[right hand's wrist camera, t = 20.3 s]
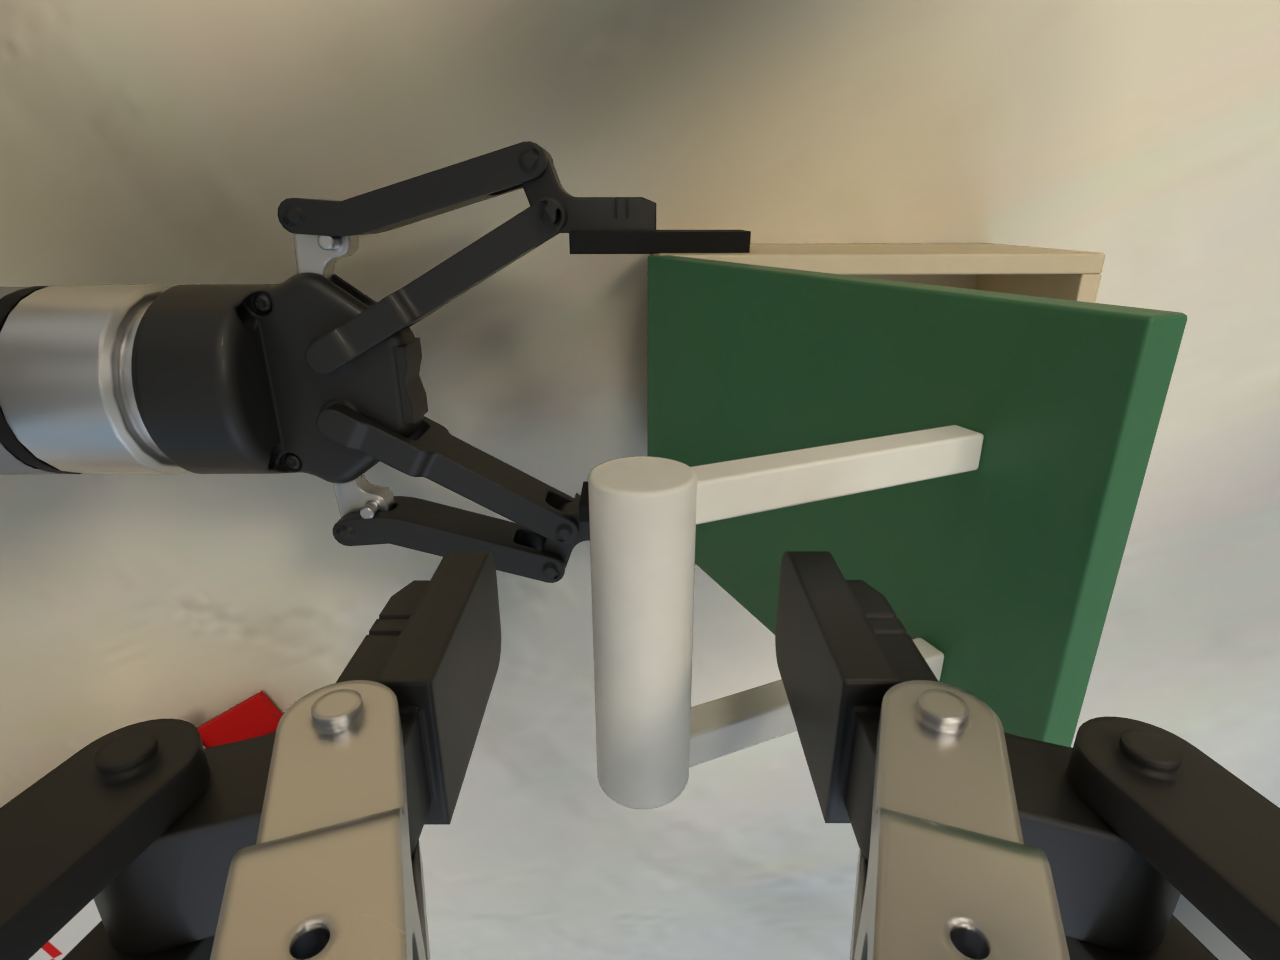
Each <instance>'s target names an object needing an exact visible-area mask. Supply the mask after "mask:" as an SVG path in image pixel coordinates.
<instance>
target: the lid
mask: <svg viewBox="0 0 1280 960" xmlns="http://www.w3.org/2000/svg"><path fill="white" fill-rule="evenodd" d="M1186 321H1187V315H1185V314H1183V313H1179V312H1170V311H1161V310H1152V309H1143V308H1134V307H1125V306H1117V305H1108V304H1099V303H1090V302H1081V301H1072V300H1063V299H1054V298H1045V297H1036V296H1028V295H1019V294H1010V293H1001V292H992V291H983V290H974V289H965V288H956V287H948V286H939V285H930V284H921V283H912V282H903V281H894V280H885V279H876V278H867V277H859V276H850V275H841V274H832V273H823V272H814V271H805V270H796V269H787V268H778V267H770V266H761V265H752V264H743V263H734V262H725V261H716V260H707V259H698V258H690V257H681V256H672V255H657V256H649V257H648V457H647V456H640V457H626V458H620V459H615V460H611V461H607V462H604V463H602V464H600V465H598V466H596V467H595V468H593V469H592V471H591V472H590V474H589V477H588V488H589V520H590V551H591V583H592V615H593V647H594V678H595V710H596V742H597V773H598V781H599V783H600V786H601V787H602V789H603V791H604V792H605V793H606V794H607V796H608V797H610V798H611V799H612V800H613V801H615V802H617V803H619V804H621V805H623V806H626V807H630V808H635V809H652V808H657V807H660V806H663V805H666V804H668V803H670V802H671V801H673V800H674V799H676V798H677V797H678V796H679V795H680V794H681V792H682V791H683V790H684V788H685V786H686V784H687V781H688V777H689V767H692V766H695V765H698V764H701V763H704V762H706V761H709V760H712V759H715V758H718V757H721V756H724V755H727V754H730V753H733V752H736V751H738V750H741V749H744V748H747V747H750V746H753V745H756V744H759V743H762V742H765V741H768V740H771V739H773V738H776V737H779V736H782V735H785V734H788V733H791V732H794V731H797V727H796V724H795V721H794V717H793V714H792V711H791V708H790V704H789V701H788V698H787V694H786V691H785V688H784V684H783V681H782V680H778V681H775V682H772V683H769V684H765V685H762V686H759V687H756V688H752V689H749V690H746V691H743V692H739V693H736V694H733V695H730V696H726V697H723V698H720V699H717V700H713V701H710V702H707V703H704V704H700V705H697V706H694V707H691V679H692V643H693V607H694V572H695V564H697V565H698V566H699V567H700V568H701V569H702V570H703V571H704V572H705V573H707V574H708V575H709V576H710V577H711V578H712V579H713V580H714V581H716V582H717V583H718V584H719V585H720V586H721V587H722V588H723V589H724V590H726V591H727V592H728V593H729V594H730V595H731V596H732V597H733V598H734V599H736V600H737V601H738V602H739V603H740V604H741V605H742V606H743V607H744V608H746V609H747V610H748V611H749V612H750V613H751V614H752V615H753V616H755V617H756V618H757V619H758V620H759V621H760V622H761V623H762V624H763V625H765V626H766V627H767V628H768V629H769V630H770V631H771V632H772V633H773V634H775V635H776V620H777V608H778V596H779V583H780V571H781V562H782V557H783V554H784V552H785V551H828V552H830V553H831V555H832V556H833V558H834V560H835V562H836V564H837V565H838V567H839V569H840V571H841V573H842V574H843V576H844V578H845V580H863V581H864V582H866V583H867V584H868V585H870V586H871V587H873V588H874V589H875V590H877V591H878V592H880V593H881V594H882V595H884V596H885V597H886V599H887V601H888V602H889V604H890V605H891V607H892V609H893V610H894V612H895V613H896V618H899V620H900V621H901V623H902V624H903V626H904V627H905V629H906V634H909V635H910V637H911V639H912V640H913V642H914V643H915V645H916V646H917V648H918V650H919V651H920V653H921V654H922V656H923V657H924V659H925V661H926V662H927V664H928V665H929V667H930V668H931V670H932V672H933V673H934V675H935V676H936V678H937V680H938V681H939V682H941V683H945V684H949V685H952V686H955V687H958V688H960V689H962V690H965V691H967V692H969V693H971V694H973V695H974V696H976V697H978V698H979V699H981V700H982V701H983V702H985V703H986V704H987V705H988V706H989V707H990V708H991V709H992V710H993V711H994V712H995V713H996V714H997V716H998V717H999V719H1000V721H1001V723H1002V726H1003V730H1004V732H1006V733H1009V734H1013V735H1016V736H1020V737H1025V738H1029V739H1034V740H1039V741H1043V742H1048V743H1053V744H1057V745H1062V746H1066V747H1071V744H1072V740H1073V737H1074V733H1075V729H1076V726H1077V722H1078V718H1079V715H1080V711H1081V707H1082V704H1083V700H1084V696H1085V693H1086V689H1087V685H1088V682H1089V678H1090V674H1091V671H1092V667H1093V663H1094V660H1095V656H1096V652H1097V648H1098V645H1099V641H1100V637H1101V634H1102V630H1103V626H1104V623H1105V619H1106V615H1107V612H1108V608H1109V604H1110V601H1111V597H1112V593H1113V590H1114V586H1115V582H1116V579H1117V575H1118V571H1119V568H1120V564H1121V560H1122V557H1123V553H1124V549H1125V546H1126V542H1127V538H1128V535H1129V531H1130V527H1131V524H1132V520H1133V516H1134V513H1135V509H1136V505H1137V502H1138V498H1139V494H1140V490H1141V487H1142V483H1143V479H1144V476H1145V472H1146V468H1147V465H1148V461H1149V457H1150V454H1151V450H1152V446H1153V443H1154V439H1155V435H1156V432H1157V428H1158V424H1159V421H1160V417H1161V413H1162V410H1163V406H1164V402H1165V399H1166V395H1167V391H1168V388H1169V384H1170V380H1171V377H1172V373H1173V369H1174V366H1175V362H1176V358H1177V355H1178V351H1179V347H1180V343H1181V340H1182V336H1183V332H1184V329H1185V325H1186Z"/></svg>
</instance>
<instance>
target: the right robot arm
mask: <svg viewBox="0 0 1280 960" xmlns="http://www.w3.org/2000/svg"><path fill="white" fill-rule="evenodd" d="M775 642H776V656H777V663H778V668H779V671H780V675H781V678H782V681H783V684H784V688H785V691H786V694H787V698H788V701H789V704H790V708H791V711H792V714H793V717H794V721H795V724H796V727H797V731H798V734H799V737H800V741H801V744H802V747H803V751H804V754H805V757H806V760H807V764H808V767H809V770H810V774H811V777H812V780H813V784H814V787H815V790H816V793H817V797H818V800H819V803H820V807H821V810H822V813H823V817H824V820H825V823H851V824H852V827H853V830H854V833H855V836H856V839H857V842H858V845H859V847H860V851H859V857H858V864H857V876H856V888H855V901H854V913H853V925H852V938H851V950H850V960H1218V959H1217V958H1216V957H1215V956H1214V955H1213V954H1212V953H1211V952H1210V951H1209V950H1208V949H1207V948H1206V947H1205V946H1204V945H1203V944H1202V943H1201V942H1200V941H1199V940H1198V939H1197V938H1196V937H1195V936H1194V935H1193V934H1192V933H1191V932H1190V931H1189V930H1188V929H1187V928H1186V927H1185V926H1184V925H1183V924H1182V923H1181V922H1179V920H1177V919H1176V918H1175V917H1174V916H1173V912H1174V909H1175V907H1176V904H1177V902H1178V899H1179V897H1180V894H1182V895H1183V896H1184V897H1185V898H1186V899H1187V900H1188V901H1190V902H1191V903H1192V904H1193V905H1194V906H1195V907H1196V908H1197V909H1198V910H1199V911H1200V912H1201V913H1202V914H1203V915H1204V916H1205V917H1207V918H1208V919H1209V920H1210V921H1211V922H1212V923H1213V924H1214V925H1215V926H1216V927H1217V928H1218V929H1219V930H1220V931H1221V932H1222V933H1224V934H1225V935H1226V936H1227V937H1228V938H1229V939H1230V940H1231V941H1232V942H1233V943H1234V944H1235V945H1236V946H1237V947H1238V948H1239V949H1241V950H1242V951H1243V952H1244V953H1245V954H1246V955H1247V956H1248V957H1249V958H1250V959H1251V960H1280V808H1279V807H1277V806H1276V805H1274V804H1273V803H1272V802H1270V801H1269V800H1268V799H1266V798H1265V797H1263V796H1262V795H1261V794H1259V793H1258V792H1257V791H1255V790H1254V789H1252V788H1251V787H1250V786H1248V785H1247V784H1246V783H1244V782H1243V781H1241V780H1240V779H1239V778H1237V777H1236V776H1235V775H1233V774H1232V773H1230V772H1229V771H1228V770H1226V769H1225V768H1223V767H1222V766H1221V765H1219V764H1218V763H1217V762H1215V761H1214V760H1212V759H1211V758H1210V757H1208V756H1207V755H1206V754H1204V753H1203V752H1201V751H1200V750H1199V749H1197V748H1196V747H1194V746H1193V745H1191V744H1190V743H1188V742H1187V741H1185V740H1184V739H1182V738H1180V737H1178V736H1176V735H1175V734H1173V733H1170V732H1168V731H1166V730H1164V729H1162V728H1159V727H1156V726H1154V725H1151V724H1148V723H1144V722H1141V721H1138V720H1133V719H1128V718H1121V717H1099V718H1094V719H1091V720H1088V721H1087V722H1085V723H1083V724H1082V725H1081V726H1080V727H1079V730H1078V732H1077V736H1076V739H1075V743H1074V746H1073V748H1071V747H1066V746H1062V745H1057V744H1053V743H1048V742H1043V741H1039V740H1034V739H1029V738H1025V737H1020V736H1016V735H1013V734H1009V733H1006V732H1004V730H1003V726H1002V723H1001V721H1000V719H999V717H998V716H997V714H996V713H995V712H994V711H993V710H992V709H991V708H990V707H989V706H988V705H987V704H986V703H985V702H983V701H982V700H981V699H979V698H978V697H976V696H974V695H973V694H971V693H969V692H967V691H965V690H962V689H960V688H958V687H955V686H952V685H949V684H945V683H941V682H939V681H938V680H937V678H936V676H935V675H934V673H933V672H932V670H931V668H930V667H929V665H928V664H927V662H926V661H925V659H924V657H923V656H922V654H921V653H920V651H919V650H918V648H917V646H916V645H915V643H914V642H913V640H912V639H911V637H910V635H909V634H906V629H905V627H904V626H903V624H902V623H901V621H900V620H899V618H896V613H895V612H894V610H893V609H892V607H891V605H890V604H889V602H888V601H887V599H886V597H885V596H884V595H882V594H881V593H880V592H878V591H877V590H875V589H874V588H873V587H871V586H870V585H868V584H867V583H866V582H864V581H863V580H845V578H844V576H843V574H842V573H841V571H840V569H839V567H838V565H837V564H836V562H835V560H834V558H833V556H832V555H831V553H830V552H828V551H785V552H784V554H783V557H782V562H781V571H780V583H779V596H778V608H777V620H776V635H775ZM500 653H501V626H500V614H499V602H498V590H497V579H496V567H495V560H494V556H493V554H492V552H447V553H446V554H445V555H444V557H443V559H442V561H441V562H440V564H439V566H438V568H437V570H436V571H435V573H434V575H433V577H432V578H431V580H430V581H413V582H411V583H410V584H409V585H407V586H406V587H404V588H403V589H401V590H400V591H399V592H397V593H396V594H394V595H393V596H392V597H391V598H390V600H389V601H388V603H387V604H386V606H385V607H384V609H383V610H382V612H381V614H380V615H379V619H377V620H376V621H375V623H374V624H373V626H372V627H371V629H370V631H369V635H366V637H365V638H364V640H363V641H362V643H361V645H360V646H359V648H358V649H357V651H356V652H355V654H354V655H353V657H352V659H351V660H350V662H349V663H348V665H347V666H346V668H345V669H344V671H343V673H342V674H341V676H340V677H339V679H338V680H337V682H336V683H335V684H331V685H328V686H325V687H322V688H320V689H318V690H315V691H313V692H311V693H309V694H307V695H306V696H304V697H302V698H301V699H299V700H298V701H297V702H295V703H294V704H293V705H292V706H291V707H290V708H289V709H288V710H287V711H286V712H285V713H284V714H283V716H282V717H281V719H280V721H279V723H278V726H277V730H276V731H275V732H272V733H269V734H266V735H263V736H259V737H255V738H250V739H246V740H241V741H237V742H232V743H227V744H223V745H218V746H213V747H209V748H204V747H203V743H202V740H201V736H200V734H199V731H198V729H197V728H196V727H195V726H194V725H192V724H191V723H189V722H186V721H183V720H178V719H157V720H150V721H145V722H140V723H136V724H133V725H130V726H126V727H124V728H121V729H119V730H116V731H114V732H111V733H109V734H107V735H105V736H103V737H101V738H99V739H97V740H96V741H94V742H92V743H90V744H89V745H87V746H86V747H84V748H83V749H81V750H80V751H79V752H77V753H76V754H74V755H73V756H72V757H70V758H69V759H68V760H66V761H65V762H63V763H62V764H61V765H59V766H58V767H56V768H55V769H54V770H52V771H51V772H50V773H48V774H47V775H45V776H44V777H43V778H41V779H40V780H39V781H37V782H36V783H34V784H33V785H32V786H30V787H29V788H28V789H26V790H25V791H23V792H22V793H21V794H19V795H18V796H17V797H15V798H14V799H12V800H11V801H10V802H8V803H7V804H5V805H4V806H3V807H1V808H0V960H29V959H30V958H31V957H32V956H33V955H34V954H35V953H36V952H37V951H38V950H39V949H41V948H42V947H43V946H44V945H45V944H46V943H47V942H48V941H49V940H50V939H51V938H52V937H53V936H54V935H55V934H56V933H58V932H59V931H60V930H61V929H62V928H63V927H64V926H65V925H66V924H67V923H68V922H69V921H70V920H71V919H72V918H73V917H74V916H76V915H77V914H78V913H79V912H80V911H81V910H82V909H83V908H84V907H85V906H86V905H87V904H88V903H89V902H90V901H91V900H93V899H94V902H95V904H96V907H97V909H98V912H99V914H100V917H101V919H102V920H101V921H100V922H99V923H98V924H97V925H96V926H95V927H94V928H93V929H92V930H91V931H90V932H89V933H88V934H87V935H86V936H85V937H84V938H83V939H82V940H81V941H80V942H79V943H78V944H77V945H76V946H75V947H74V948H73V949H72V950H71V951H70V952H69V953H68V954H67V955H66V956H65V957H64V958H63V959H62V960H430V950H429V938H428V925H427V913H426V901H425V889H424V876H423V864H422V857H421V851H420V844H419V837H420V834H421V831H422V828H423V825H424V824H450V822H451V819H452V815H453V812H454V809H455V806H456V803H457V799H458V796H459V793H460V790H461V786H462V783H463V780H464V777H465V773H466V770H467V767H468V764H469V761H470V757H471V754H472V751H473V748H474V744H475V741H476V738H477V735H478V732H479V728H480V725H481V722H482V719H483V715H484V712H485V709H486V706H487V702H488V699H489V696H490V693H491V690H492V686H493V683H494V680H495V677H496V673H497V670H498V666H499V661H500Z"/></svg>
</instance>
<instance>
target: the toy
mask: <svg viewBox="0 0 1280 960" xmlns="http://www.w3.org/2000/svg"><path fill="white" fill-rule="evenodd" d="M282 716H283V714H282V713H281V712H280V711H279V710H278V709H277V707H276V706H275V705H274V704H273V703H272V702H271V701H270V700H269V698H268V697H267V696H266V695H265V694H264V693H263V692H262V691H261V692H259V693H258V694H256V695H254V696H252V697H251V698H249V699H247V700H245V701H243V702H242V703H240V704H238V705H236V706H235V707H233V708H231V709H229V710H228V711H226V712H224V713H222V714H221V715H219V716H217V717H215V718H214V719H212V720H210V721H208V722H207V723H205V724H203V725H201V726H200V727H198V728H197V729H198V731H199V734H200V736H201V740H202V743H203V747H204V748H209V747H213V746H218V745H223V744H227V743H232V742H237V741H241V740H246V739H250V738H255V737H259V736H263V735H266V734H269V733H272V732H275V731H276V730H277V726H278V723H279V721H280V719H281V717H282ZM101 920H102V919H101V917H100V914H99V912H98V909H97V907H96V904H95V902H94V899H93V900H91V901H90V902H89V903H88V904H87V905H86V906H85V907H84V908H83V909H82V910H81V911H80V912H79V913H78V914H77V915H76V916H74V917H73V918H72V919H71V920H70V921H69V922H68V923H67V924H66V925H65V926H64V927H63V928H62V929H61V930H60V931H59V932H58V933H56V934H55V935H54V936H53V937H52V938H51V939H50V940H49V941H48V942H47V943H46V944H45V945H44V946H43V947H42V948H41V949H39V950H38V951H37V952H36V953H35V954H34V955H33V956H32V957H31V958H30V959H29V960H62V959H63V958H64V957H65V956H66V955H67V954H68V953H69V952H70V951H71V950H72V949H73V948H74V947H75V946H76V945H77V944H78V943H79V942H80V941H81V940H82V939H83V938H84V937H85V936H86V935H87V934H88V933H89V932H90V931H91V930H92V929H93V928H94V927H95V926H96V925H97V924H98V923H99V922H100V921H101Z"/></svg>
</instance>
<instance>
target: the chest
mask: <svg viewBox="0 0 1280 960" xmlns="http://www.w3.org/2000/svg"><path fill="white" fill-rule="evenodd" d="M657 255H672V256H681V257H690V258H698V259H707V260H716V261H725V262H734V263H743V264H752V265H761V266H770V267H778V268H787V269H796V270H805V271H814V272H823V273H832V274H841V275H850V276H859V277H867V278H876V279H885V280H894V281H903V282H912V283H921V284H930V285H939V286H948V287H956V288H965V289H974V290H983V291H992V292H1001V293H1010V294H1019V295H1028V296H1036V297H1045V298H1054V299H1063V300H1072V301H1081V302H1090V303H1095V301H1096V296H1097V292H1098V287H1099V283H1100V278H1101V275H1100V274H1099V273H1101V272H1102V268H1103V263H1104V259H1105V254H1104V253H1097V252H1086V251H1074V250H1062V249H1050V248H1039V247H1027V246H1015V245H1004V244H992V243H915V244H750V253H659V254H653V256H657Z"/></svg>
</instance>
